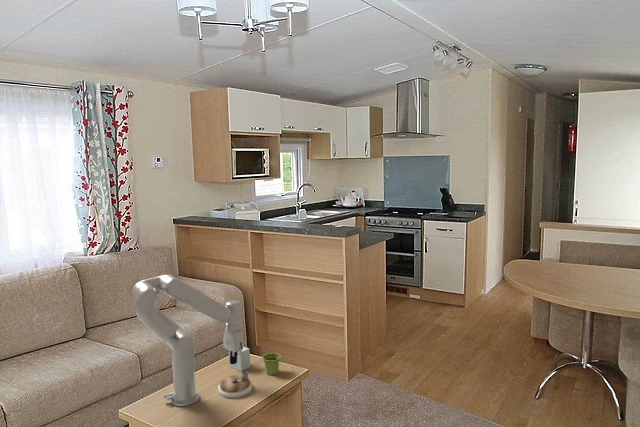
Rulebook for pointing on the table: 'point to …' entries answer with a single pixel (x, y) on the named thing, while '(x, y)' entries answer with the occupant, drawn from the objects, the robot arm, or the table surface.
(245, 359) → the skincare box
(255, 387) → the table surface
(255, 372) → the table surface
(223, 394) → the stand
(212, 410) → the table surface
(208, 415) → the table surface
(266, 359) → the plant pot
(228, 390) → the dial
